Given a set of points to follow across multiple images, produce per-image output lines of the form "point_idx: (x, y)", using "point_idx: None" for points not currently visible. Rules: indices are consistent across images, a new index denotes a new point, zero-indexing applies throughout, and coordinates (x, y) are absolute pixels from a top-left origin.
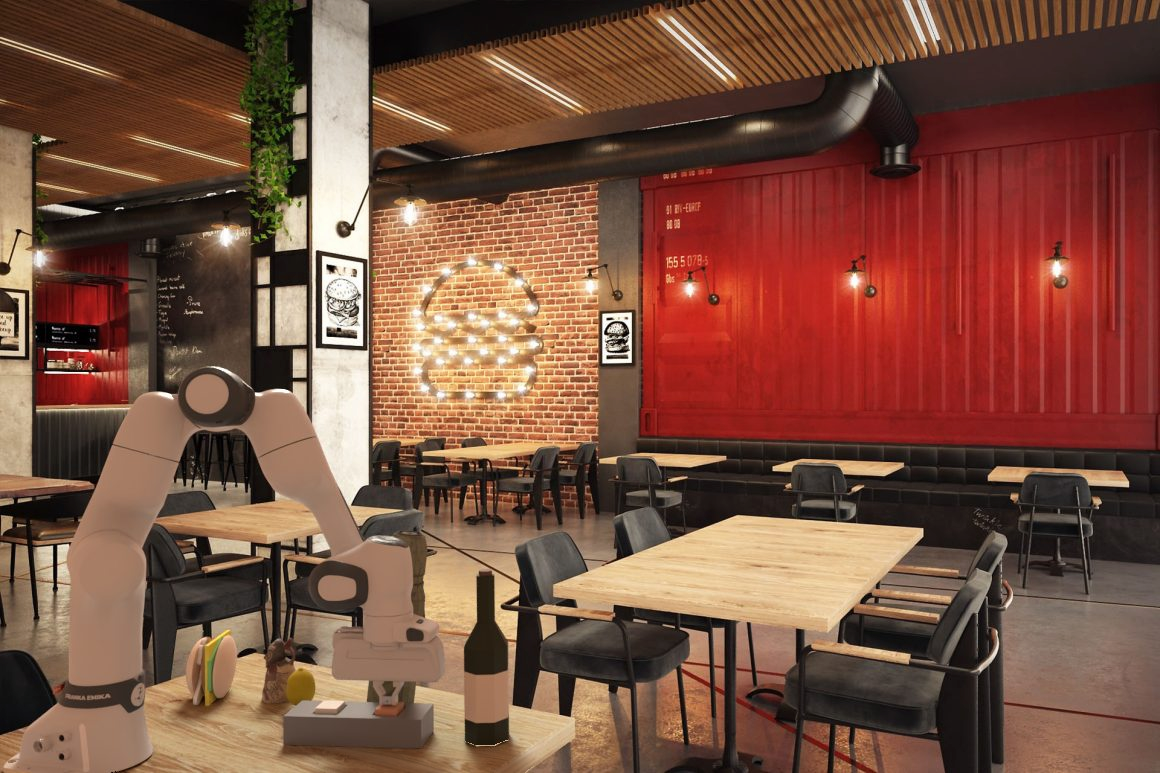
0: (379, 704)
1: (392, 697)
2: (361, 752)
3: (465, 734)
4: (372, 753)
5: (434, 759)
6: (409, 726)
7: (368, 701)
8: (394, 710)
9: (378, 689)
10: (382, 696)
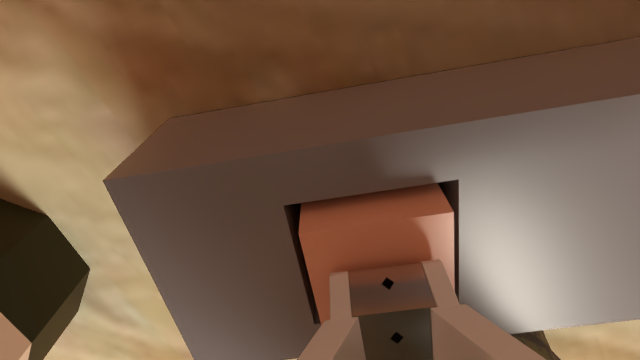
0: (440, 260)
1: (348, 310)
2: (426, 7)
3: (19, 233)
4: (365, 10)
5: (29, 22)
6: (191, 151)
7: (553, 357)
8: (313, 229)
9: (485, 347)
10: (431, 305)
